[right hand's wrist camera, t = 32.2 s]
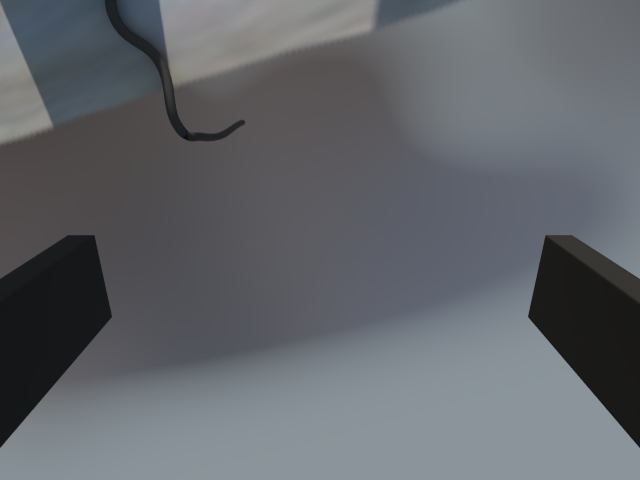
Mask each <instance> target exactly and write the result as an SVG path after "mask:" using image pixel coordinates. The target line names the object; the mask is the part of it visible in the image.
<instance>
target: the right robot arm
mask: <svg viewBox="0 0 640 480" xmlns="http://www.w3.org/2000/svg"><path fill="white" fill-rule="evenodd" d="M105 5H106V10H107V14H108V17H109V19H110V21H111V23H112V25H113V27H114V28H115V30H116V31H117V32H118V33H119V34H120V35H121V36H122V37H123V38H124V39H125V40H126V41H128V42H129V43H131V44H132V45H134V46H135V47H137V48H138V49H140V50H141V51H143V52H144V53H146V54H147V55H148V56H149V57H150V58H151V59H152V61H153V62H154V63H155V65H156V67H157V69H158V71H159V74H160V77H161V80H162V84H163V90H164V98H165V105H166V110H167V114H168V117H169V120H170V122H171V124H172V126H173V128H174V129H175V131H176V132H177V133H178V135H179V136H181V137H182V138H183V139H185V140H187V141H192V142H193V141H216V140H221V139H223V138H225V137H227V136H229V135H230V134H231V133H233V132H234V131H235V130H236V129H238V128H239V127H241V126H243V125H244V124H245V121H244V120H240V121H237V122H236V123H234V124H232V125H231V126H230V127H228V128H227V129H225V130H223V131H221V132H219V133H200V132H196V133H192V132H189V131H188V130H187V129H186V128H185V127H184V126H183V124H182V123H181V121H180V119H179V117H178V114H177V110H176V105H175V98H174V90H173V84H172V79H171V75H170V72H169V69H168V67H167V65H166V63H165V61H164V59H163V58H162V56H161V55H160V53H159V52H158V51H157V50H156V49H155V48H154V47H153V46H152V45H150V44H149V43H148V42H146V41H145V40H143V39H142V38H140V37H139V36H137V35H136V34H134V33H133V32H132V31H130V30H129V29H128V28H127V27H126V26H125V25H124V23H123V22H122V20H121V18H120V16H119V14H118V11H117V6H116V0H105ZM111 317H112V315H111V310H110V306H109V301H108V296H107V292H106V287H105V282H104V278H103V273H102V269H101V264H100V259H99V255H98V250H97V246H96V241H95V236H94V235H68V236H66V237H65V238H63V239H62V240H60V241H58V242H57V243H55V244H54V245H52V246H51V247H49V248H48V249H46V250H45V251H43V252H41V253H40V254H38V255H37V256H35V257H34V258H32V259H31V260H29V261H27V262H26V263H24V264H23V265H21V266H20V267H18V268H17V269H15V270H13V271H12V272H10V273H9V274H7V275H6V276H4V277H3V278H1V279H0V447H1V446H2V445H3V444H4V443H5V442H6V440H7V439H8V438H9V437H10V436H11V434H12V433H13V432H14V431H15V430H16V429H17V428H18V426H19V425H20V424H21V423H22V422H23V421H24V419H25V418H26V417H27V416H28V415H29V413H30V412H31V411H32V410H33V409H34V408H35V406H36V405H37V404H38V403H39V402H40V401H41V399H42V398H43V397H44V396H45V395H46V394H47V392H48V391H49V390H50V389H51V388H52V387H53V385H54V384H55V383H56V382H57V381H58V379H59V378H60V377H61V376H62V375H63V374H64V372H65V371H66V370H67V369H68V368H69V367H70V365H71V364H72V363H73V362H74V361H75V360H76V358H77V357H78V356H79V355H80V354H81V353H82V351H83V350H84V349H85V348H86V347H87V346H88V344H89V343H90V342H91V341H92V340H93V338H94V337H95V336H96V335H97V334H98V333H99V331H100V330H101V329H102V328H103V327H104V326H105V324H106V323H107V322H108V321H109V320H110V319H111ZM528 317H529V318H530V320H531V321H532V322H533V323H534V324H535V326H536V327H537V328H538V329H539V330H540V331H541V333H542V334H543V335H544V336H545V337H546V338H547V340H548V341H549V342H550V343H551V344H552V345H553V347H554V348H555V349H556V350H557V351H558V353H559V354H560V355H561V356H562V357H563V358H564V360H565V361H566V362H567V363H568V364H569V365H570V367H571V368H572V369H573V370H574V371H575V372H576V373H577V375H578V376H579V377H580V378H581V379H582V381H583V382H584V383H585V384H586V385H587V387H588V388H589V389H590V390H591V391H592V392H593V394H594V395H595V396H596V397H597V398H598V399H599V401H600V402H601V403H602V404H603V405H604V406H605V408H606V409H607V410H608V411H609V412H610V413H611V415H612V416H613V417H614V418H615V419H616V420H617V422H618V423H619V424H620V425H621V426H622V428H623V429H624V430H625V431H626V432H627V433H628V434H629V436H630V437H631V438H632V439H633V440H634V442H635V443H636V444H637V445H638V446H639V447H640V279H639V278H637V277H636V276H634V275H633V274H631V273H630V272H628V271H627V270H625V269H623V268H622V267H620V266H619V265H617V264H616V263H614V262H613V261H611V260H609V259H608V258H606V257H605V256H603V255H602V254H600V253H599V252H597V251H596V250H594V249H592V248H591V247H589V246H588V245H586V244H585V243H583V242H581V241H580V240H578V239H577V238H575V237H574V236H572V235H546V236H545V241H544V245H543V250H542V255H541V260H540V264H539V269H538V273H537V278H536V282H535V287H534V292H533V296H532V301H531V306H530V310H529V315H528Z"/></svg>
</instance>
